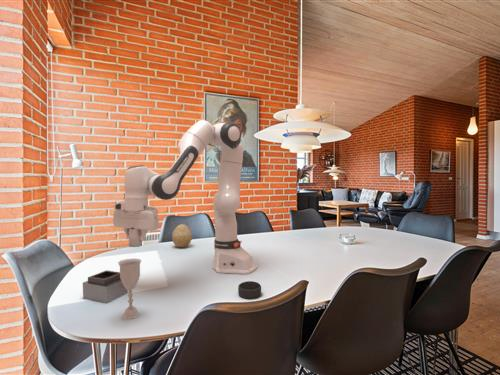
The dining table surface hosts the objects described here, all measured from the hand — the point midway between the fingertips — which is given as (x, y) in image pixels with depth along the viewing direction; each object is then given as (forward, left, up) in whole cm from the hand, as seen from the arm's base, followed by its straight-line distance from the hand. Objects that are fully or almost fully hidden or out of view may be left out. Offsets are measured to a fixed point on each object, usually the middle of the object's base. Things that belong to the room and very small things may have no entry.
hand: (135, 239), depth 113 cm
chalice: (-14, +17, -21) cm, 30 cm away
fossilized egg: (+23, -66, -21) cm, 73 cm away
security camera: (0, 0, -2) cm, 2 cm away
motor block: (+9, +8, -21) cm, 24 cm away
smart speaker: (-45, -12, -21) cm, 51 cm away
